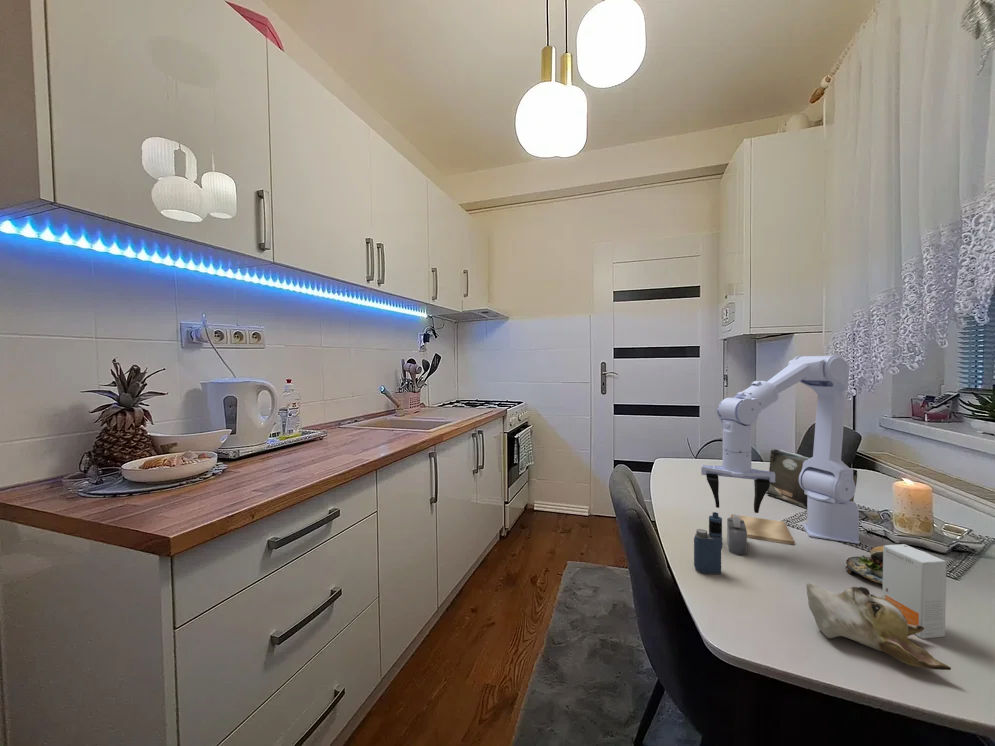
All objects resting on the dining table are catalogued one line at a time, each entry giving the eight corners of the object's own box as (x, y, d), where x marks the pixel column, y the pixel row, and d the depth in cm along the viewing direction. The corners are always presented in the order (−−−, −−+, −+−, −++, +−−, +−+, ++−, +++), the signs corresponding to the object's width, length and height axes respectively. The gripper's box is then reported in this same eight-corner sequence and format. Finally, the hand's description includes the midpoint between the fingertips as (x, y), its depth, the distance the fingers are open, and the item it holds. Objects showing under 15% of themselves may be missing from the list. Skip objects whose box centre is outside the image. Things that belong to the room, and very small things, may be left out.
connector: (743, 539, 96) (743, 510, 96) (747, 557, 88) (747, 525, 87) (726, 537, 98) (726, 508, 97) (729, 553, 89) (729, 522, 89)
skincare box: (880, 615, 67) (881, 544, 67) (903, 613, 68) (904, 543, 67) (922, 640, 61) (922, 562, 61) (947, 638, 61) (948, 560, 61)
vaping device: (724, 575, 80) (724, 515, 80) (696, 572, 81) (696, 514, 81) (719, 568, 83) (720, 511, 82) (692, 566, 84) (692, 509, 83)
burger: (838, 576, 80) (838, 539, 80) (853, 558, 87) (853, 524, 87) (926, 605, 70) (926, 562, 70) (934, 582, 77) (935, 543, 77)
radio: (864, 519, 107) (865, 464, 107) (838, 522, 106) (838, 466, 105) (785, 492, 130) (786, 447, 130) (763, 494, 128) (763, 448, 128)
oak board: (784, 524, 104) (784, 521, 104) (794, 545, 93) (794, 541, 93) (731, 517, 110) (731, 514, 110) (734, 535, 98) (734, 532, 98)
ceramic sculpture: (803, 559, 69) (925, 589, 61) (798, 607, 69) (920, 643, 61) (812, 590, 60) (958, 629, 52) (807, 645, 60) (951, 693, 52)
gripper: (701, 450, 92) (701, 509, 92) (777, 457, 85) (777, 520, 85) (701, 445, 98) (701, 500, 98) (772, 450, 91) (772, 509, 92)
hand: (736, 508), depth 92 cm, fingers open, 7 cm apart
